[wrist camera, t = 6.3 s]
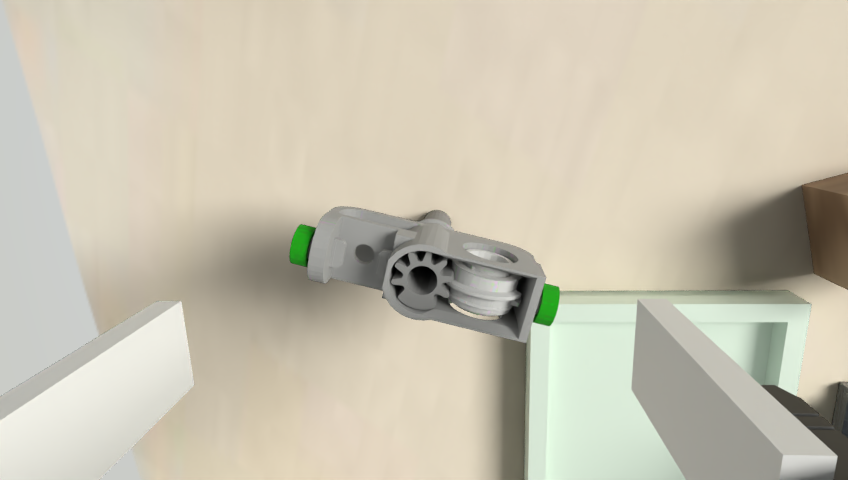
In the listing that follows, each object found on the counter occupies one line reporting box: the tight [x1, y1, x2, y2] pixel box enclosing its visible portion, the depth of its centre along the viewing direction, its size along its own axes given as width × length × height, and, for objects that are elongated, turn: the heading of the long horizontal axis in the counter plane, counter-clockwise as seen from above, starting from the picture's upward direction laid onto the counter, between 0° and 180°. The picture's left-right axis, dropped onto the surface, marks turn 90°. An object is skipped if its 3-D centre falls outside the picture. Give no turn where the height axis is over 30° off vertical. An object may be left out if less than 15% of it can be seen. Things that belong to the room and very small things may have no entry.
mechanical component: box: [290, 207, 560, 343], centre depth 24 cm, size 3×10×10 cm, turn 77°
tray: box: [524, 290, 812, 480], centre depth 29 cm, size 16×14×2 cm
